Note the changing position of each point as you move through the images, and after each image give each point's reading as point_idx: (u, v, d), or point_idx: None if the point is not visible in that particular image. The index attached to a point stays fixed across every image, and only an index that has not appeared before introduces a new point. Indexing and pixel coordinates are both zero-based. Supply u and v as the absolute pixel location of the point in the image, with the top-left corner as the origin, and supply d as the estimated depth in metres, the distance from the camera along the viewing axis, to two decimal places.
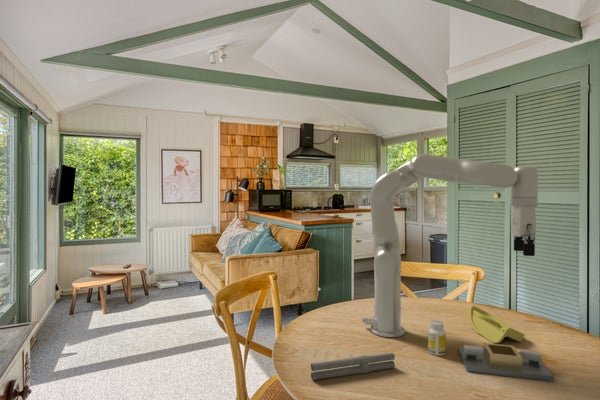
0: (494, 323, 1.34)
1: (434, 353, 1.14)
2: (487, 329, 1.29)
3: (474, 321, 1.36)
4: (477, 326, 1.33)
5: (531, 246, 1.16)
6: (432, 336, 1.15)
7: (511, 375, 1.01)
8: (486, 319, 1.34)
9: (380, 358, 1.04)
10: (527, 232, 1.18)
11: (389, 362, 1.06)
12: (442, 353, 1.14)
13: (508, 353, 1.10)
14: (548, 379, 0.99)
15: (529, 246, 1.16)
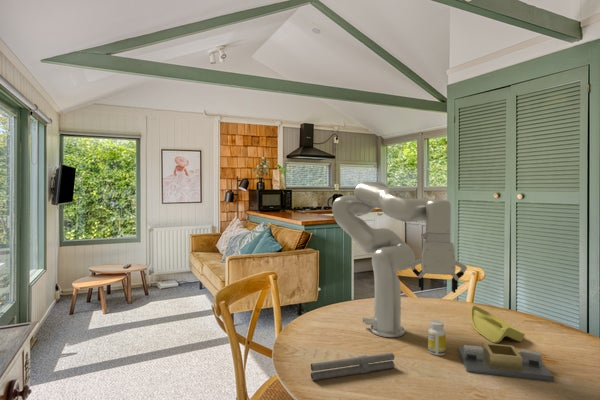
0: (495, 323, 1.34)
1: (434, 353, 1.14)
2: (487, 329, 1.29)
3: (475, 321, 1.36)
4: (477, 326, 1.34)
5: None
6: (432, 336, 1.15)
7: (511, 375, 1.01)
8: (487, 319, 1.34)
9: (380, 358, 1.04)
10: None
11: (389, 362, 1.06)
12: (442, 353, 1.14)
13: (508, 353, 1.10)
14: (548, 379, 0.99)
15: None
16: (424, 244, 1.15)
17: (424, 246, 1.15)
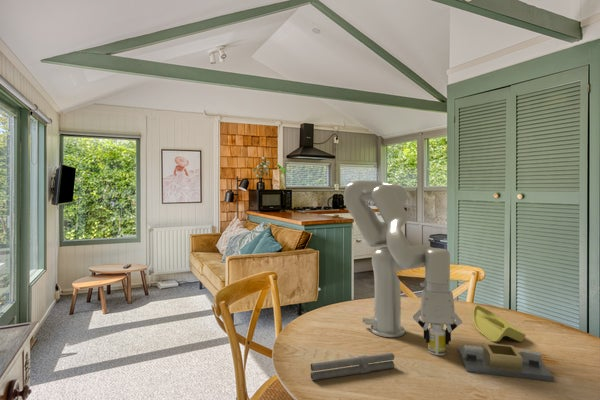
0: (497, 323, 1.34)
1: (434, 353, 1.14)
2: (488, 328, 1.30)
3: (477, 320, 1.37)
4: (479, 325, 1.34)
5: None
6: (432, 336, 1.15)
7: (511, 375, 1.01)
8: (489, 318, 1.34)
9: (380, 358, 1.04)
10: None
11: (389, 362, 1.06)
12: (442, 353, 1.14)
13: (508, 353, 1.10)
14: (548, 379, 0.99)
15: None
16: (423, 293, 1.15)
17: (423, 295, 1.15)
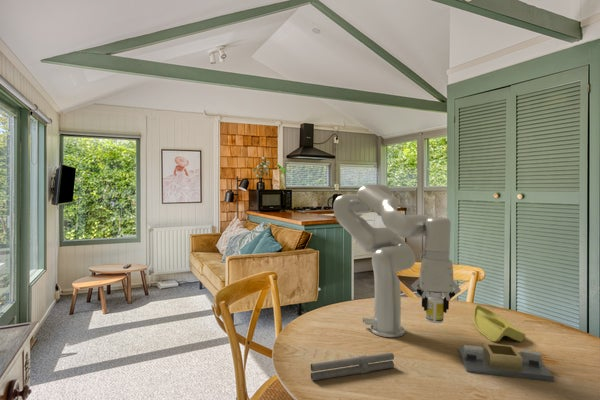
0: (497, 323, 1.35)
1: (432, 321, 1.15)
2: (488, 328, 1.30)
3: (477, 320, 1.37)
4: (479, 325, 1.35)
5: None
6: (430, 304, 1.15)
7: (511, 375, 1.01)
8: (489, 318, 1.35)
9: (379, 358, 1.04)
10: None
11: (388, 362, 1.06)
12: (440, 321, 1.14)
13: (508, 353, 1.10)
14: (548, 379, 0.99)
15: (448, 302, 1.16)
16: (423, 261, 1.15)
17: (423, 263, 1.15)
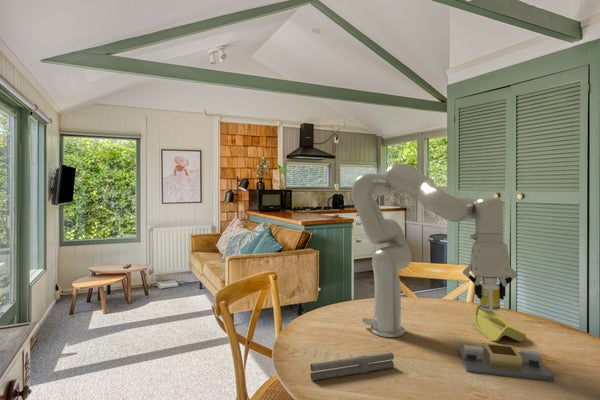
0: (498, 323, 1.35)
1: (488, 309, 1.07)
2: (488, 328, 1.30)
3: (478, 320, 1.37)
4: (480, 324, 1.35)
5: None
6: (485, 291, 1.07)
7: (511, 375, 1.01)
8: (490, 318, 1.35)
9: (379, 358, 1.04)
10: None
11: (388, 362, 1.06)
12: (497, 308, 1.06)
13: (508, 353, 1.10)
14: (548, 379, 0.99)
15: None
16: (475, 245, 1.08)
17: (475, 247, 1.08)
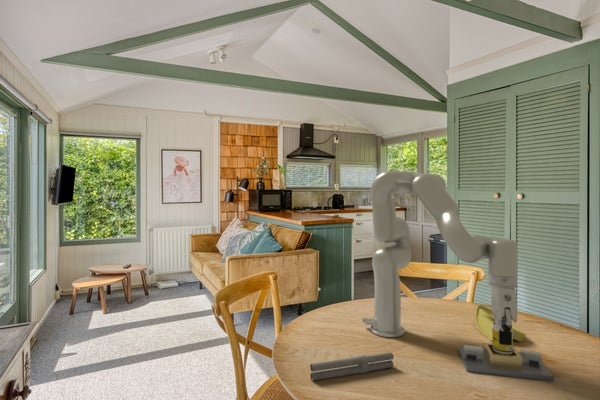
0: None
1: (512, 351, 1.06)
2: (488, 327, 1.31)
3: (478, 319, 1.38)
4: (480, 324, 1.35)
5: None
6: (512, 334, 1.06)
7: (511, 375, 1.01)
8: (490, 318, 1.35)
9: (379, 358, 1.05)
10: None
11: (388, 362, 1.06)
12: None
13: None
14: (548, 379, 0.99)
15: None
16: (513, 290, 1.03)
17: (514, 293, 1.03)
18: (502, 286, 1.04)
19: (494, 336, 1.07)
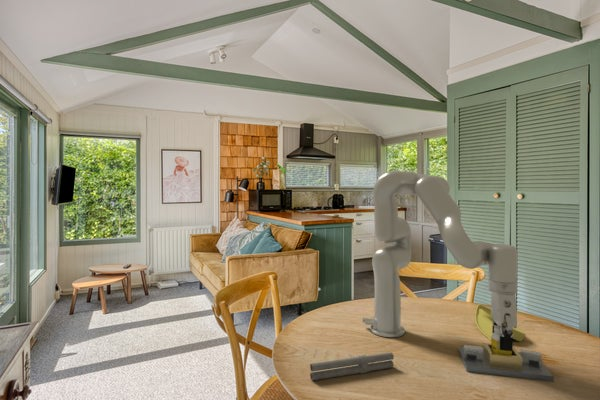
0: None
1: None
2: (488, 327, 1.31)
3: (478, 319, 1.38)
4: (480, 324, 1.35)
5: None
6: None
7: (511, 375, 1.01)
8: (490, 318, 1.35)
9: (379, 358, 1.05)
10: None
11: (388, 362, 1.06)
12: None
13: None
14: (548, 379, 0.99)
15: None
16: (513, 297, 1.03)
17: (514, 299, 1.03)
18: (502, 292, 1.04)
19: (493, 345, 1.08)
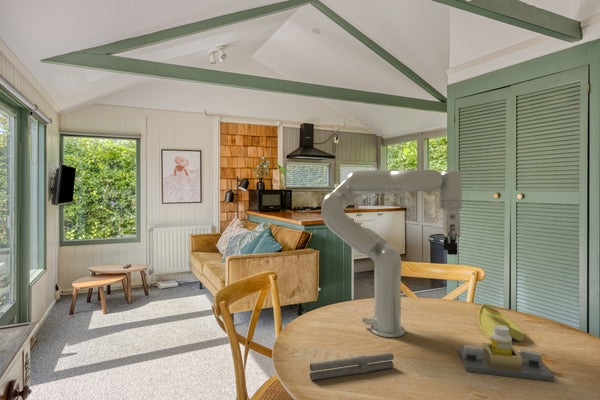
0: (502, 322, 1.35)
1: None
2: (489, 326, 1.32)
3: (481, 318, 1.38)
4: (482, 323, 1.36)
5: None
6: (511, 343, 1.06)
7: (511, 375, 1.01)
8: (493, 317, 1.36)
9: (379, 358, 1.04)
10: None
11: (388, 362, 1.06)
12: None
13: None
14: (548, 379, 0.99)
15: None
16: (457, 211, 1.25)
17: (458, 212, 1.25)
18: (449, 208, 1.26)
19: (493, 345, 1.08)
